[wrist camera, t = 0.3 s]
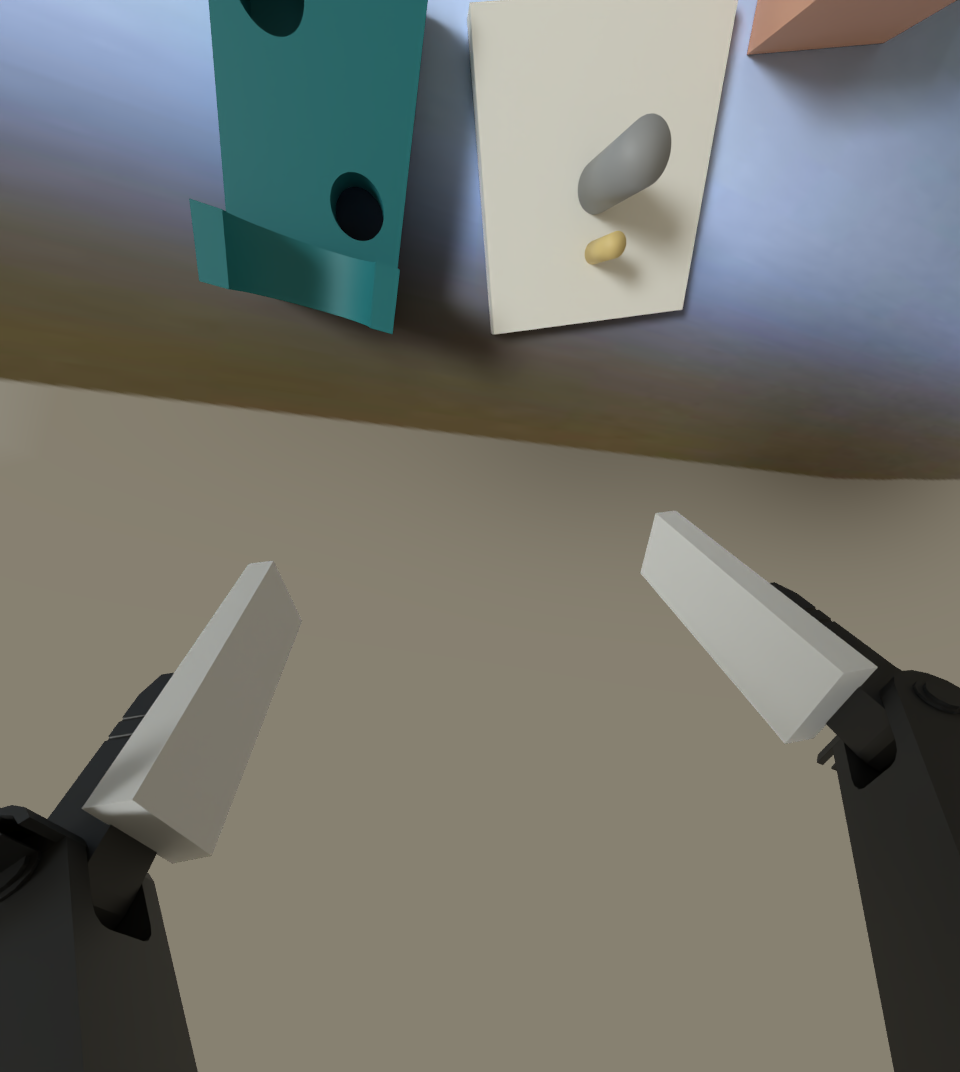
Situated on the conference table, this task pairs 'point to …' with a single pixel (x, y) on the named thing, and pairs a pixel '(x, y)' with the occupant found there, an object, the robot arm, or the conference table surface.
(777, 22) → the orange arch block
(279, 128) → the teal l-shaped bracket
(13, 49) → the conference table surface
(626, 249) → the base
